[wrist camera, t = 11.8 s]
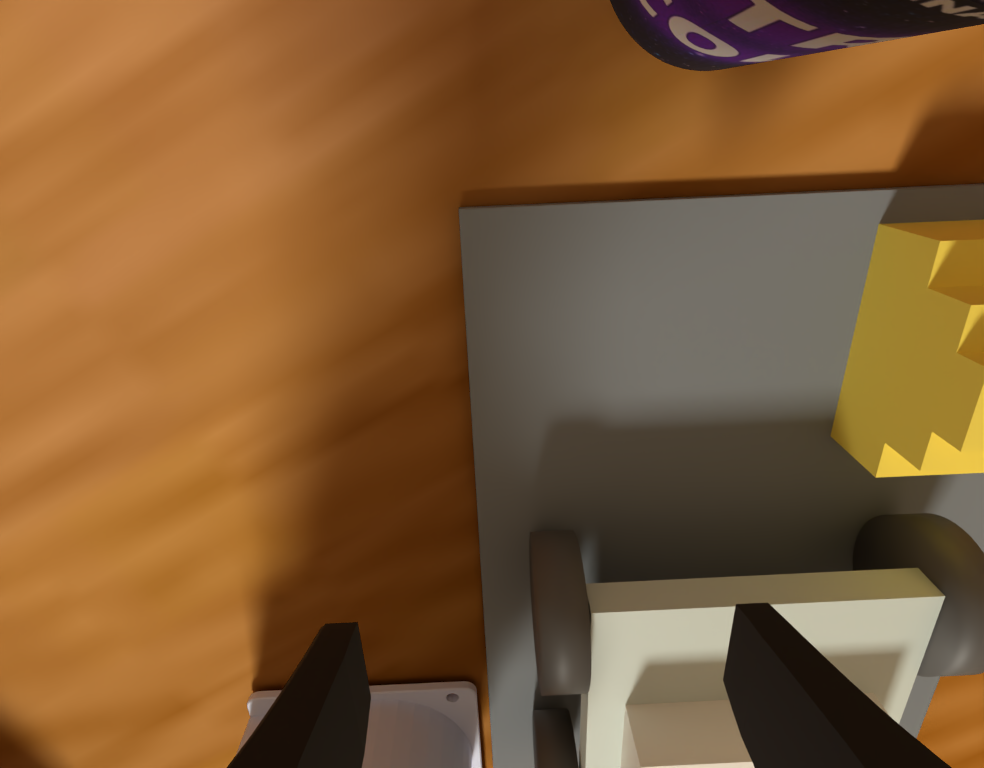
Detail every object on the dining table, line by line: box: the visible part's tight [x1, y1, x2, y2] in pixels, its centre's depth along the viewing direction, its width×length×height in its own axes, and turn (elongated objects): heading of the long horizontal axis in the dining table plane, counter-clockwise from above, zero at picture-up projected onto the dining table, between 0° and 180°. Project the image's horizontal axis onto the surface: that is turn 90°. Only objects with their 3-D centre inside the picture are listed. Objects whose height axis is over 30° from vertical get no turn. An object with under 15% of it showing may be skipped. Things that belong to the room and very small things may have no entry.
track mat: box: [459, 183, 984, 768], centre depth 22 cm, size 19×25×1 cm
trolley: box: [529, 513, 984, 768], centre depth 21 cm, size 13×14×6 cm
